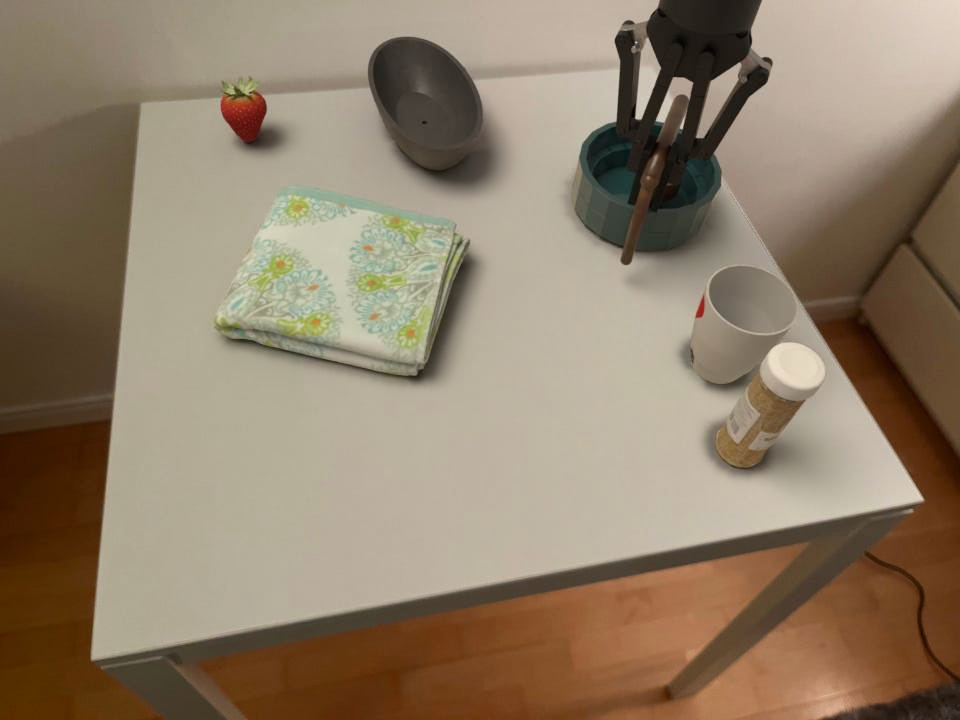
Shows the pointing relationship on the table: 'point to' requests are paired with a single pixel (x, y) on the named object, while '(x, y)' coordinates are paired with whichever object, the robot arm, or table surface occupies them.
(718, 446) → the sprinkles bottle
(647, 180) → the bent wooden rod
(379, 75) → the bowl
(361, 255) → the towel
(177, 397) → the table surface
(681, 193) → the mixing bowl
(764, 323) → the cup
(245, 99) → the fruit
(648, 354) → the table surface
